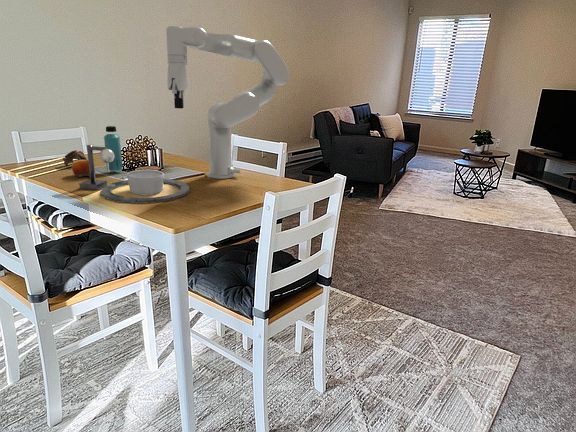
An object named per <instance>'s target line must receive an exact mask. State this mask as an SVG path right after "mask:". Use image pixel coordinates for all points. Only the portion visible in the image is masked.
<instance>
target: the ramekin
mask: <svg viewBox="0 0 576 432" xmlns="http://www.w3.org/2000/svg"><path fill="white" fill-rule="evenodd" d="M126 179H127V180H128V183H129V184H128V188H129V191H130V192H131V193H132V194H133V195H134V194H135V195H139V196H151V195H156V194H159V193H161V192H162V190H163V187H164V183H163V179H165V173H164V172H163V171H160V170H155V169H137V170H132V171H131V170H130V171H128V172H127V173H126Z"/></svg>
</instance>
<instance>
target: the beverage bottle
mask: <svg viewBox="0 0 576 432" xmlns="http://www.w3.org/2000/svg"><path fill="white" fill-rule="evenodd" d="M105 132H107V133H106V134H105V135H104V137H103V139H104V147H107V149H110V150H112V151H113V153H114V155H115V158H114V160H113V161H112V162H109V172H110V171H111V172H117V171H119V172H120V171H122V170H123V157H122V149H121V148H122V147H121V139H120V138H121V137H120V136H119V135H118V134H116V133H115V132H117V128H116V126H115V125H110V126H109V125H107V126H105ZM105 164H106V168H107V163H105Z"/></svg>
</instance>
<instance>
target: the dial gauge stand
mask: <svg viewBox="0 0 576 432" xmlns="http://www.w3.org/2000/svg"><path fill="white" fill-rule="evenodd" d="M86 151H87V152H86V153H87V160H88V162H89V171H90V176H89V178H88V179H86V180H84V181H82V182H80V183H79V184H78V186H79V189H81V190H91V191H99V190H102V189H103V187H105V186H107V185H108V180H107V179H106V180H103V179H96V171H95V160H94V151H100V152H99V154H98V155H99V159H100V160H101V162H103V163H105V164H107V167H106V169H107V173H110V171H109V162H112V161H113V160H114V158H115V155H114V153H113V151H112V150H110V149H107V147H105V146H96V145H94V146H93V145H92V144H87V145H86Z"/></svg>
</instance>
